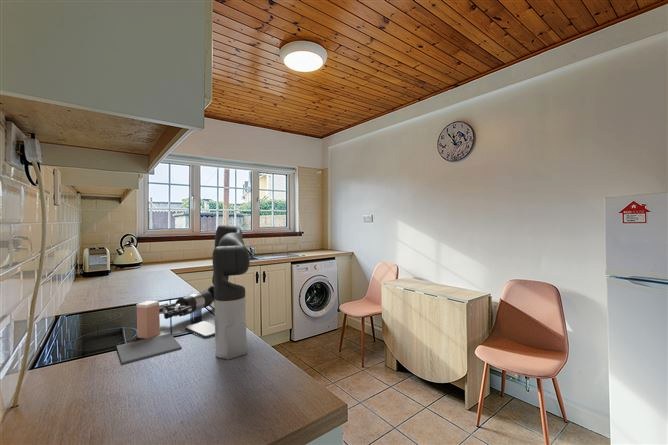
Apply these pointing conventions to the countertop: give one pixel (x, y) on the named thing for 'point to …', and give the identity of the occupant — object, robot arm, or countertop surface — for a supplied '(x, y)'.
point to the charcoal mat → (147, 348)
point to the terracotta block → (148, 319)
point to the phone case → (202, 329)
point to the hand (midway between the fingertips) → (156, 315)
